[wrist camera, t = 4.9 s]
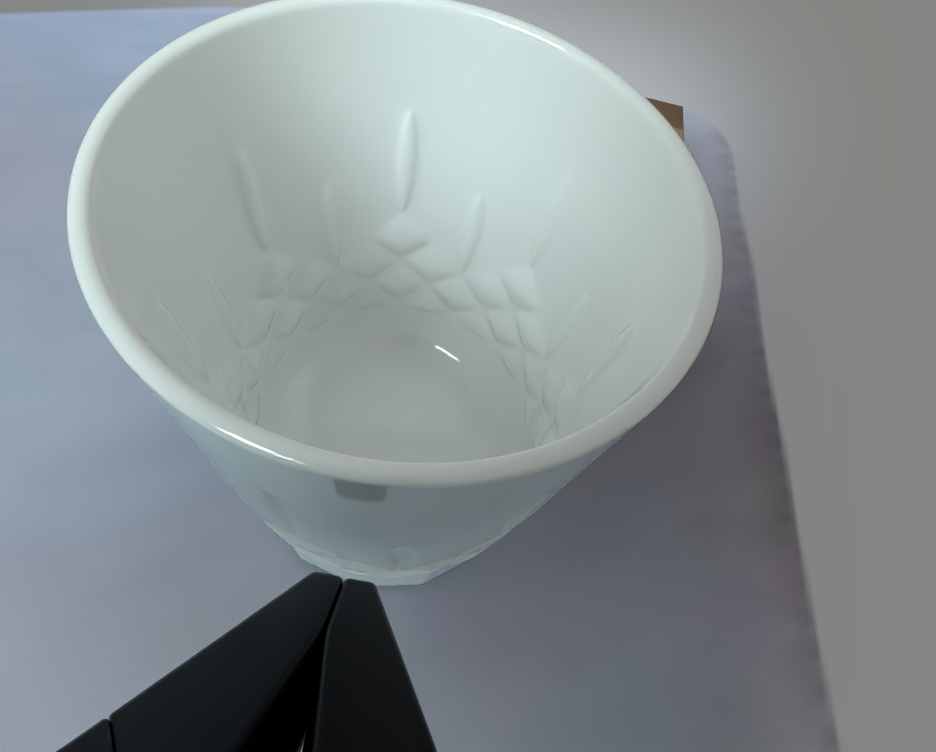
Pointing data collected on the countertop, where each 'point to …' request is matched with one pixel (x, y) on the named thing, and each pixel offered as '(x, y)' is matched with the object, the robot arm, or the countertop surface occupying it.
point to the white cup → (393, 266)
